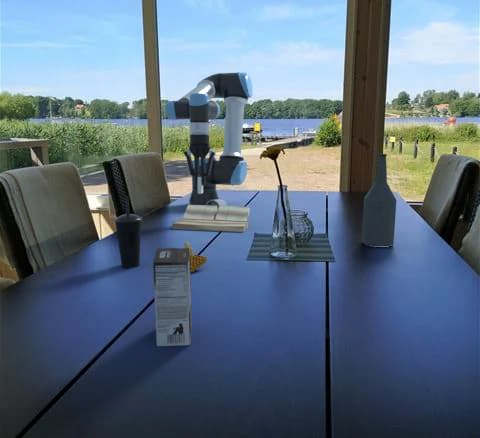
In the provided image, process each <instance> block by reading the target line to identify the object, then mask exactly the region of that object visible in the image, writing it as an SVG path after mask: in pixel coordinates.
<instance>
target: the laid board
mask: <svg viewBox="0 0 480 438" xmlns="http://www.w3.org/2000/svg"><path fill="white" fill-rule="evenodd" d="M171 227H172V230H189V231H210V232H211V231H215V232H236V233H238V232H239V233H244V232H245V231H246V230H247V229H248V228H249V221H248V220H247V221H223V220H198V219H183V218H179V219H177V220H176V221H174V222H172V225H171Z"/></svg>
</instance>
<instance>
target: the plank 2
mask: <svg viewBox="0 0 480 438" xmlns="http://www.w3.org/2000/svg"><path fill="white" fill-rule="evenodd" d="M250 211H251V208H250V206H241V205H240V206H239V205H238V206H237V205H236V206H235V205H228V206H219V209H218V212H217V215H216V217H215V220H223V221H248V220H249V215H250Z"/></svg>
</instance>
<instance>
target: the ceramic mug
mask: <svg viewBox="0 0 480 438" xmlns="http://www.w3.org/2000/svg"><path fill="white" fill-rule="evenodd" d="M206 205H211V206H217V208H218V209H219V206H229V205H228V203H227V201H225V200H224V199H220V198H219V199H216V200H210V201H208V202H207V203H206ZM217 212H218V210H217ZM216 215H217V213H216Z"/></svg>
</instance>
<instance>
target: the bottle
mask: <svg viewBox="0 0 480 438" xmlns="http://www.w3.org/2000/svg"><path fill="white" fill-rule="evenodd" d="M376 169H377V170H376V175H375V181H374V183H373V185H372V186H371V188H370V189H369V191H368V192H367V194H366V195H365V196H364V198H363V214H362V215H363V216H362V217H363V218H362V232H361V236H362V237H361V241H362V244H363V243H364V244H366V245H372V246H390V245H392V246H393V245H394V241H395V226H396V215H397V214H396V212H397V198H396V196H395V195H394V193H393V191H392V189H391V188H390V185H389V184H388V177H387V176H388V173H387V153H379V155H378V162H377V168H376ZM364 244H363V245H364Z"/></svg>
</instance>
